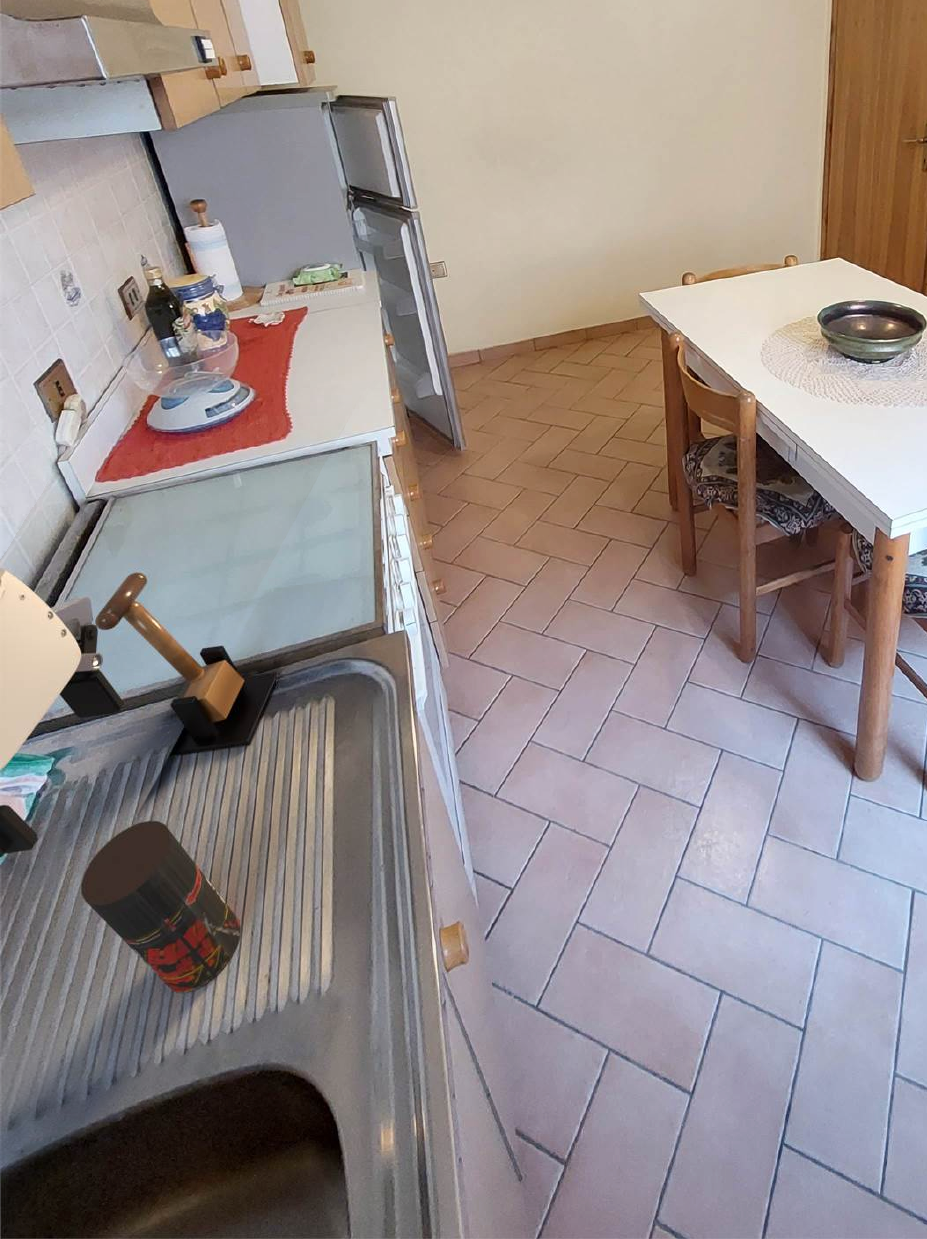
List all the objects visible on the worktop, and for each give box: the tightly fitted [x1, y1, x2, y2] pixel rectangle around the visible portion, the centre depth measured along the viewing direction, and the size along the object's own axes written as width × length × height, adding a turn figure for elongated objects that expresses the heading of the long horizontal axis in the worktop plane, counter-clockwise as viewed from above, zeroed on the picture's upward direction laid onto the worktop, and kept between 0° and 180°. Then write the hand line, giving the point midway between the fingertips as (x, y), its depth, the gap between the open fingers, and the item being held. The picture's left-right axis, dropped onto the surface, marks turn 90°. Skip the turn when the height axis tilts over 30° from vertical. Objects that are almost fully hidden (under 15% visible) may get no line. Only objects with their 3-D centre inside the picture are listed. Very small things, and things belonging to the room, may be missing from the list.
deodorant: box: [80, 820, 242, 994], centre depth 58 cm, size 6×6×15 cm
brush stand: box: [168, 645, 280, 758], centre depth 81 cm, size 10×9×7 cm
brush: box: [94, 572, 244, 722], centre depth 77 cm, size 19×7×4 cm
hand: (61, 773), depth 50 cm, fingers open, 9 cm apart
